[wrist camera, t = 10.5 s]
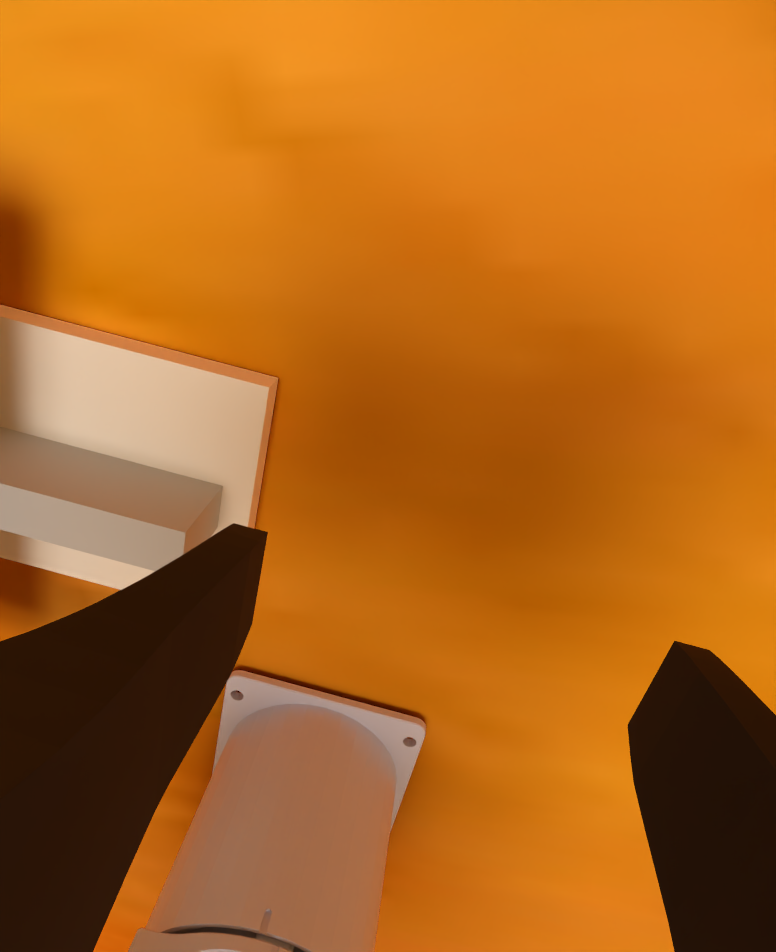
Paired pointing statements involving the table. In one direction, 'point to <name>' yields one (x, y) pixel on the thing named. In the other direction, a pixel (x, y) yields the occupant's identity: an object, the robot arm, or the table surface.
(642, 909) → the table surface
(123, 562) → the ridge stand
